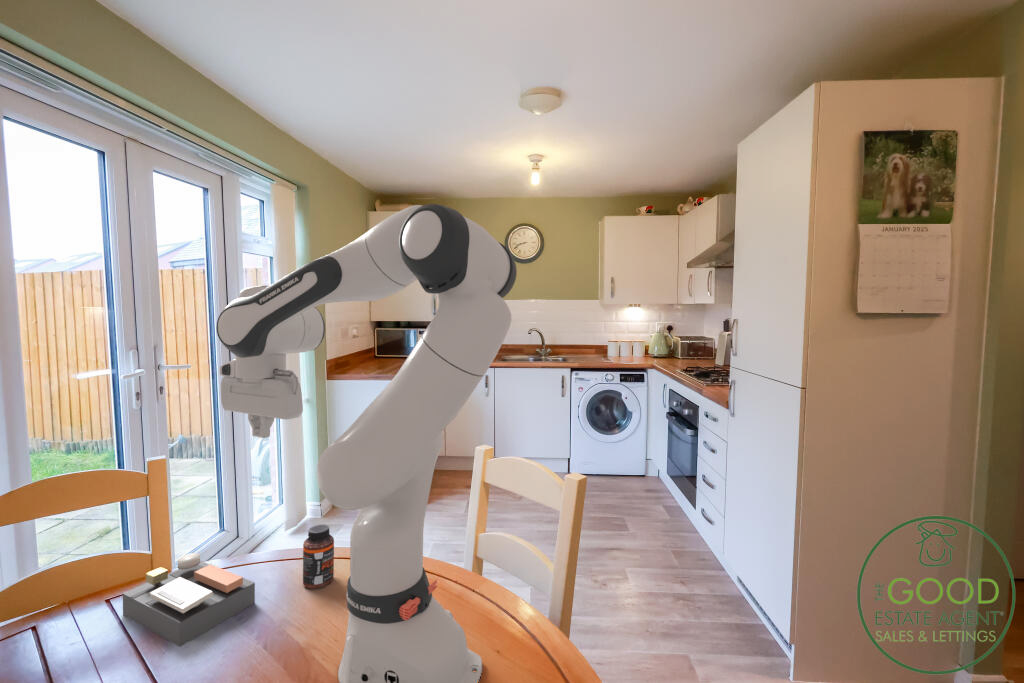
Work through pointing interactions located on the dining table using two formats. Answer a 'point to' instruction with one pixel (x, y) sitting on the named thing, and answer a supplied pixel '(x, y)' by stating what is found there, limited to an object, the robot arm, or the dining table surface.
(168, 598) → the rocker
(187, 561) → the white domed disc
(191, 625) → the panel
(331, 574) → the supplement bottle
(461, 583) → the dining table surface
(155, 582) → the slider knob
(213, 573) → the terracotta button
